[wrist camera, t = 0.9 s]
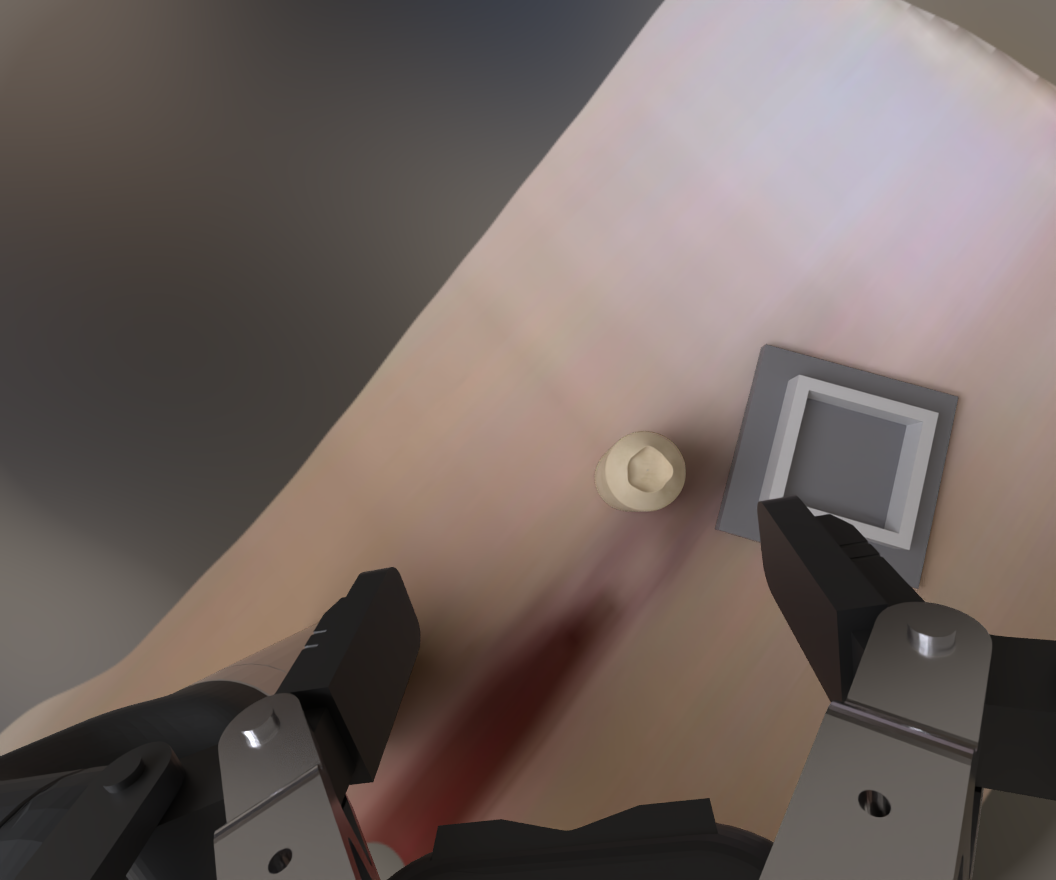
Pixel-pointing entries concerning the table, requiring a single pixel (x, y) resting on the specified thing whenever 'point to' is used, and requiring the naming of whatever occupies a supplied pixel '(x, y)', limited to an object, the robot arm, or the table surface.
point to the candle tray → (841, 453)
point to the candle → (641, 473)
